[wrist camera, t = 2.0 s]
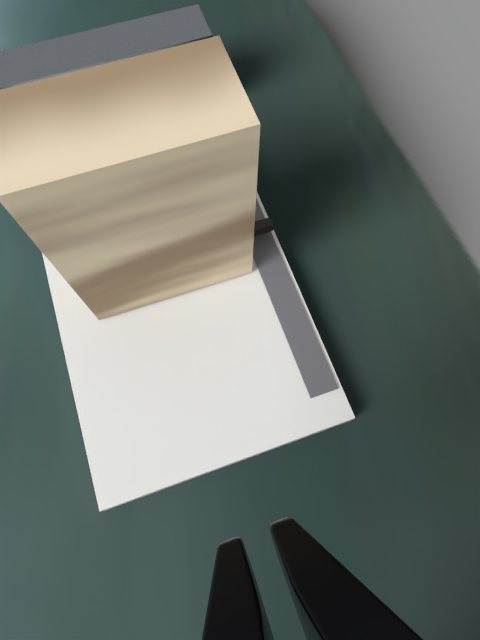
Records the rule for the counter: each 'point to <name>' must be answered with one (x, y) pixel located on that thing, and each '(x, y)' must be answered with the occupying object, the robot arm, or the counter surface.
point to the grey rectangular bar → (101, 46)
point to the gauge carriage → (136, 174)
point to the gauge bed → (196, 377)
